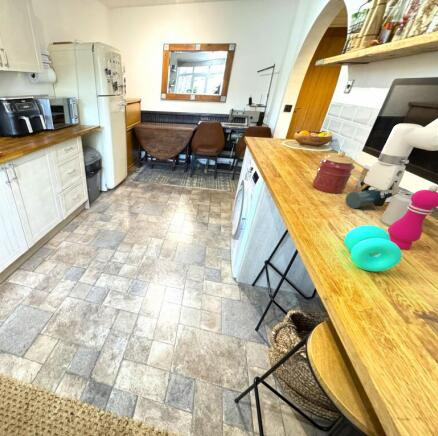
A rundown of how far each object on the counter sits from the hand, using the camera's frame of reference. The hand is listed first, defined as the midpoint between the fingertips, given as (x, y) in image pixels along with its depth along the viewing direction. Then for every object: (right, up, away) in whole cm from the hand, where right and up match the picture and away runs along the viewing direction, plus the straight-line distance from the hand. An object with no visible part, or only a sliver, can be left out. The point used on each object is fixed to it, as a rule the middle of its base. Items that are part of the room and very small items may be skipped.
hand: (369, 201), depth 98 cm
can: (-2, -9, -11) cm, 15 cm away
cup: (-8, +1, -2) cm, 8 cm away
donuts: (-30, -19, -29) cm, 46 cm away
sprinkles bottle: (+7, +5, +13) cm, 16 cm away
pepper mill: (-12, -15, -22) cm, 29 cm away
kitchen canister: (-5, +8, +17) cm, 19 cm away
